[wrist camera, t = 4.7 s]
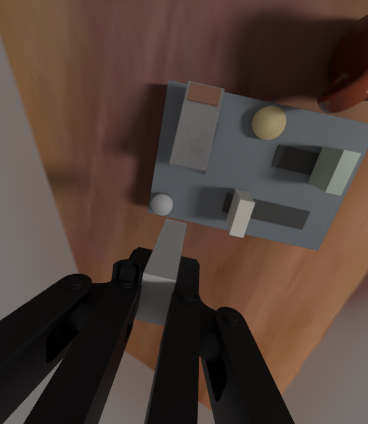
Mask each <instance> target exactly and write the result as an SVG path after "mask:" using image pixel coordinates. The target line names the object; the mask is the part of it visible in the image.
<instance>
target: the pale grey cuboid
mask: <svg viewBox="0 0 368 424" xmlns="http://www.w3.org/2000/svg"><path fill="white" fill-rule="evenodd" d="M254 205H255V202H254V200H253V199H252V197H251V195H250V194H249V192H247V191H242V190H238V189H235V193H234V196H233V199H232V203H231V206H230V209H229V213H228V216H227V219H226V221H227V226H228V230H229V235H233V236H238V237H242V238H243V237H244V234H245V231H246V228H247V225H248V222H249V219H250V217H251V214H252V211H253V208H254Z"/></svg>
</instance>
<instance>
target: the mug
mask: <svg viewBox="0 0 368 424" xmlns="http://www.w3.org/2000/svg"><path fill="white" fill-rule="evenodd" d="M328 74H329V79H330V82H331V84H330V85H329V86H328V87H327V88H326V90H325V91H324V92H323V93H322V94H321V95H320V96H319V97H318V100H317V102H318V105H319V107H320V109H321V110H322V111H323V112H325V113H338V112H341V111H344V110H346V109H349V108H351V107H353V106H354V105H356V104H358V103H360V102H361V101H368V15H366V16H365V17H363V18H362V19H360V20H359V21H358V22H357V23H356V24H355V25H354V26H352V28H351V29H350V30H349V31H348V32H347V33H346V34H345V35H344V36H343V37H342V39H341V40H340V41H339V42H338V44H337V46H336V47H335V49H334V51H333V53H332V56H331V59H330V63H329V70H328Z"/></svg>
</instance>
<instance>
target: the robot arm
mask: <svg viewBox="0 0 368 424" xmlns="http://www.w3.org/2000/svg"><path fill="white" fill-rule="evenodd" d="M186 226H187V223H182V222H178V221H174V220H169V219H166V221H165V223H164V226H163V228H162V231H161V233H160V235H159V238H158V240H157V242H156V245H155V247H154V249H153V250H150V249H146V248H141V247H138V248H137V249H135V250H133V252H132V254H131V255H130V257H129V259H125V260H120V261H117V262H116V263H115V264H114V265H113V273H112V280H111V281H110V282H107V283H92V280H91V278H90V277H88V276H87V275H84V274H72V275H68V276H66V277H64V278H62V279H61V280H59V281H58V282H56V283H55V284H53V285H52V286H50V287H49V288H47V289H46V290H44V291H43V292H42V293H40V294H39V295H37V296H36V297H34V298H33V299H31V300H30V301H28V302H27V303H25V304H24V305H22V306H21V307H19V308H18V309H17V310H15V311H14V312H12V313H11V314H9V315H8V316H6V317H5V318H3V319H2V320H0V424H3V423H4V422H5V420H6V419H7V418H8V417H9V416H10V415H11V414H12V413H13V412H14V411H15V410H16V409H17V407H18V406H19V405H20V404H21V403H22V402H23V401H24V400H25V399H26V398H27V397H28V396H29V395H30V393H31V392H32V391H33V390H34V389H35V388H36V387H37V386H38V385H39V384H40V383H41V382H42V380H43V379H44V378H45V377H46V376H47V375H48V374H49V373H50V372H51V371H52V370H53V368H54V367H55V366H56V365H57V364H58V363H59V362H60V361H61V360H62V359H63V360H62V361H61V363H60V365H59V367H58V368H57V370H56V372H55V373H54V375H53V376H52V378H51V379H50V381H49V383H48V384H47V386H46V388H45V389H44V391H43V393H42V394H41V396H40V397H39V399H38V401H37V402H36V404H35V406H34V407H33V409H32V411H31V412H30V414H29V415H28V417H27V419H26V420H25V422H24V424H98V423H99V420H100V417H101V414H102V412H103V409H104V406H105V403H106V401H107V398H108V395H109V392H110V389H111V386H112V384H113V381H114V378H115V375H116V372H117V370H118V367H119V364H120V362H121V358H122V356H123V353H124V350H125V348H126V345H127V342H128V339H129V336H130V334H131V331H132V328H133V322H134V318H135V316H136V318H135V319H137V320H142V321H146V322H150V323H154V324H159V325H163V326H165V327H164V331H163V335H162V339H161V343H160V350H159V354H158V359H157V364H156V369H155V374H154V378H153V384H152V388H151V393H150V398H149V403H148V407H147V412H146V417H145V422H144V424H197V417H198V381H199V356H200V357H201V362H202V367H203V371H204V376H205V380H206V385H207V389H208V394H209V398H210V403H211V407H212V412H213V416H214V421H215V424H295V423H294V421H293V419H292V417H291V415H290V413H289V411H288V409H287V407H286V405H285V402H284V400H283V398H282V396H281V394H280V392H279V390H278V388H277V386H276V384H275V382H274V379H273V377H272V375H271V373H270V371H269V369H268V367H267V365H266V363H265V361H264V359H263V357H262V354H261V352H260V350H259V348H258V346H257V344H256V342H255V340H254V338H253V336H252V334H251V331H250V329H249V327H248V325H247V323H246V321H245V319H244V318H243V316H242V315H241V314H240V313H239V312H238V311H237V310H235V309H233V308H230V307H220V308H219V309H217V311H215V310H213V309H211V308H210V307H208V306H206V305H205V304H204V303H203V302H202V301H201V299H200V296H199V269H200V265H199V263H198V261H197V260H196V259H191V258H187V257H183V256H181V252H182V247H183V242H184V236H185V231H186Z"/></svg>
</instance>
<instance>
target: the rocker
mask: <svg viewBox="0 0 368 424" xmlns="http://www.w3.org/2000/svg"><path fill="white" fill-rule="evenodd" d="M224 90H225V89H223V88H219V87H214V86H210V85H205V84H201V83H196V82H191V81H188V85H187V89H186V93H185V98H184V102H183V106H182V111H181V115H180V119H179V124H178V128H177V132H176V137H175V141H174V145H173V150H172V154H171V158H170V167H173V168H178V169H182V170H186V171H191V172H195V173H200V174H204V175H205V173H206V170H207V165H208V161H209V156H210V152H211V147H212V143H213V139H214V134H215V130H216V125H217V121H218V116H219V112H220V107H221V103H222V98H223V94H224Z"/></svg>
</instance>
